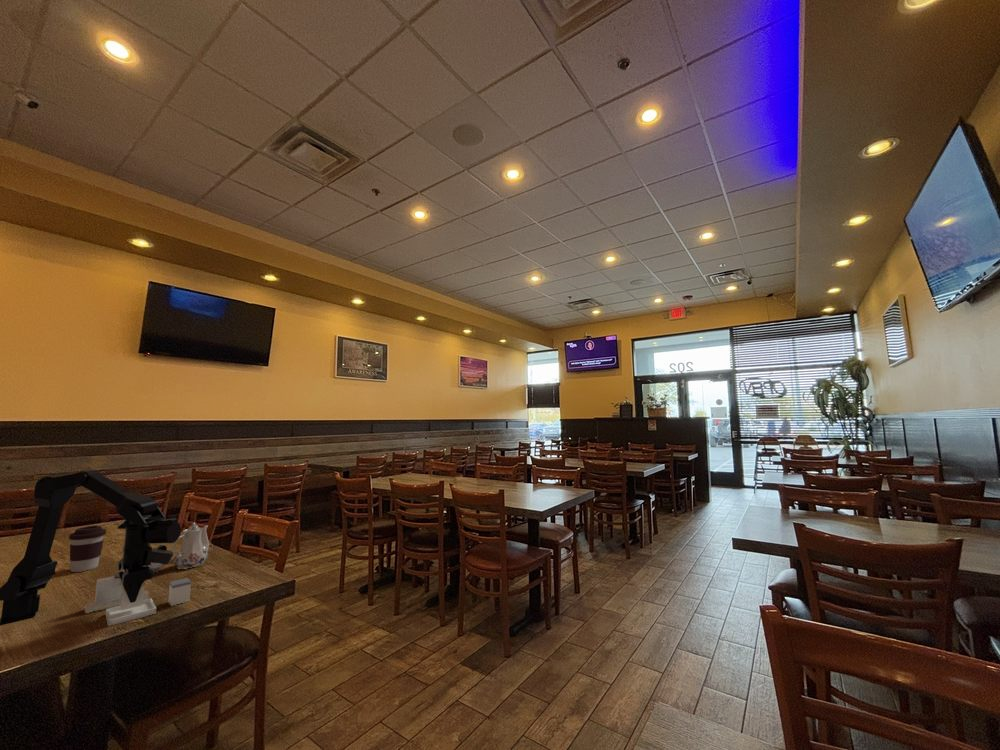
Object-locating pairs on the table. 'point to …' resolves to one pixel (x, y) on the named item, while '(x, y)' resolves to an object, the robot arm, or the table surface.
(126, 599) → the amber cartridge
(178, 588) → the grey cartridge
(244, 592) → the table surface
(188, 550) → the chinaware
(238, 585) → the table surface
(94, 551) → the coffee cup
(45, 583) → the robot arm
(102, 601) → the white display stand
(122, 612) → the tray
